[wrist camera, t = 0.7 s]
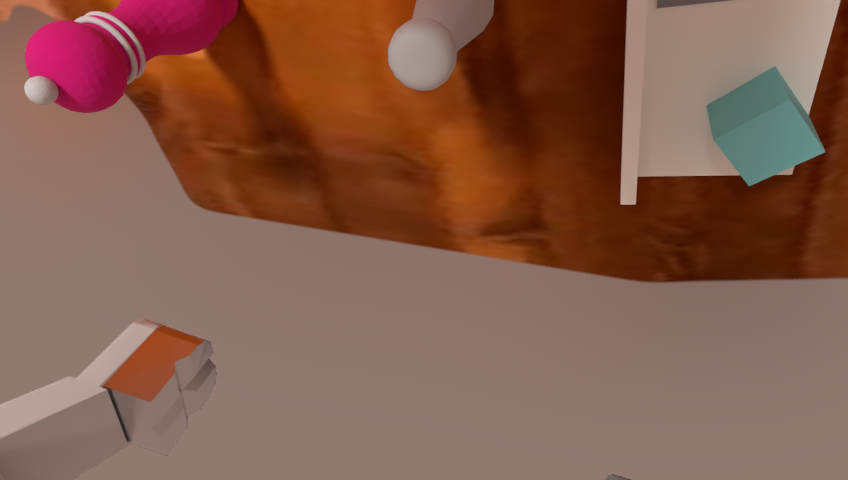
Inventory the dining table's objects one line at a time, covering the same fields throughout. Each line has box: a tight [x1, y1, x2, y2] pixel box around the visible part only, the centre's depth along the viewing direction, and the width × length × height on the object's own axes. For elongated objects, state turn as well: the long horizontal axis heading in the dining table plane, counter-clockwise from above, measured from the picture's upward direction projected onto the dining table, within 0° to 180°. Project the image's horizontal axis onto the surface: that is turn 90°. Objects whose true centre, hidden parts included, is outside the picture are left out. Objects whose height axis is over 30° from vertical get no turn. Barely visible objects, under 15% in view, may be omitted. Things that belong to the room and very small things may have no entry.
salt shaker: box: [388, 0, 494, 91], centre depth 37 cm, size 6×6×13 cm
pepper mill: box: [24, 0, 238, 113], centre depth 41 cm, size 7×7×20 cm
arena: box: [620, 0, 841, 205], centre depth 37 cm, size 24×13×5 cm, turn 12°
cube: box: [706, 66, 825, 186], centre depth 39 cm, size 5×5×5 cm
